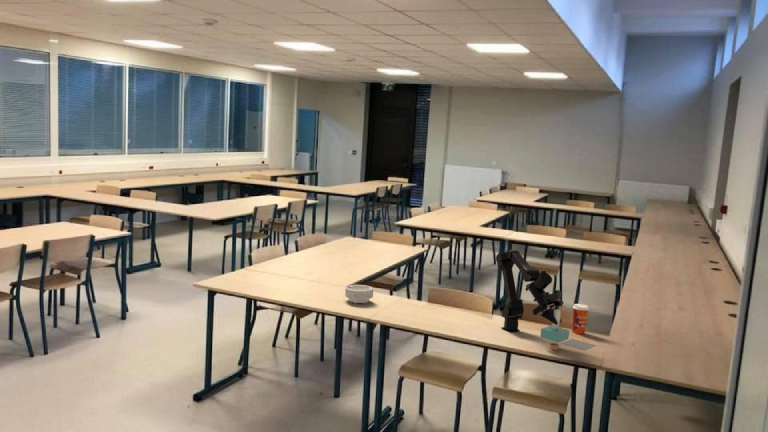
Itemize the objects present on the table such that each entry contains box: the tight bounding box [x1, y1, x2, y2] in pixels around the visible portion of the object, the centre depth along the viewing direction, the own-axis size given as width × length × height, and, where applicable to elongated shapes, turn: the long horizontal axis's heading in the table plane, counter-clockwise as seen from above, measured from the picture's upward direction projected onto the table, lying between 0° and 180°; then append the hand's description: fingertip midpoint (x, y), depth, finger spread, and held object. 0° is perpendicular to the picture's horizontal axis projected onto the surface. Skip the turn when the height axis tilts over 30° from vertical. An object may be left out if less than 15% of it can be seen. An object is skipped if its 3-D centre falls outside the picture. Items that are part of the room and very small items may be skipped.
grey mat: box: [559, 338, 597, 351], centre depth 285 cm, size 12×12×1 cm
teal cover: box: [540, 308, 570, 344], centre depth 275 cm, size 9×9×13 cm
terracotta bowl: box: [547, 341, 560, 351], centre depth 276 cm, size 4×4×3 cm
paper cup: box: [571, 303, 590, 336], centre depth 303 cm, size 8×8×14 cm
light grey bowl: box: [344, 284, 374, 304], centre depth 335 cm, size 15×15×8 cm
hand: (558, 323), depth 274 cm, fingers closed on teal cover, 3 cm apart
